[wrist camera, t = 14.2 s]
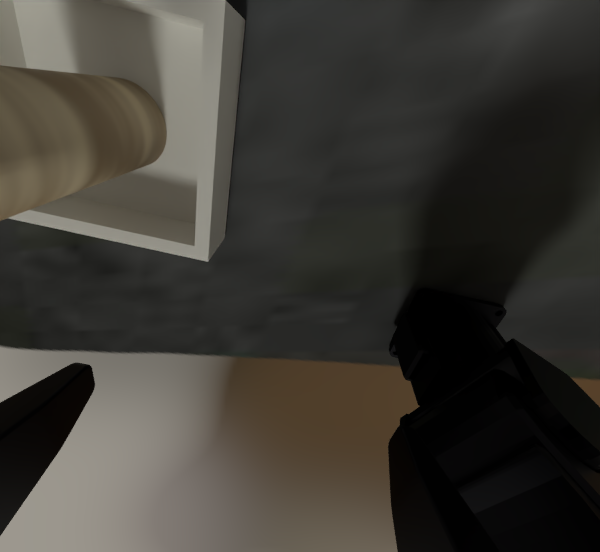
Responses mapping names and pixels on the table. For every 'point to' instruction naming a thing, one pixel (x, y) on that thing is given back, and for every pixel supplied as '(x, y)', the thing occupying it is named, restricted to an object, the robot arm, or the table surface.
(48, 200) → the birch dowel
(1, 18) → the tray
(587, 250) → the table surface
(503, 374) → the robot arm
